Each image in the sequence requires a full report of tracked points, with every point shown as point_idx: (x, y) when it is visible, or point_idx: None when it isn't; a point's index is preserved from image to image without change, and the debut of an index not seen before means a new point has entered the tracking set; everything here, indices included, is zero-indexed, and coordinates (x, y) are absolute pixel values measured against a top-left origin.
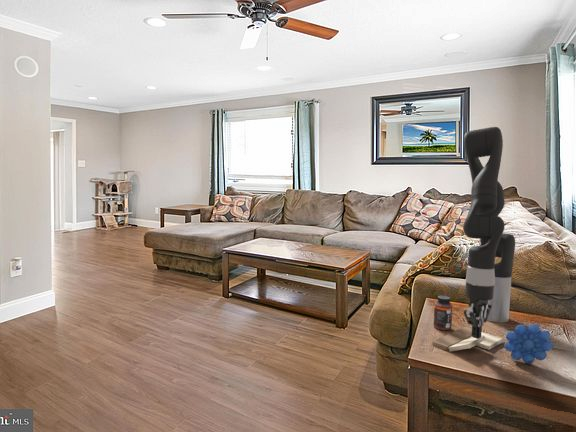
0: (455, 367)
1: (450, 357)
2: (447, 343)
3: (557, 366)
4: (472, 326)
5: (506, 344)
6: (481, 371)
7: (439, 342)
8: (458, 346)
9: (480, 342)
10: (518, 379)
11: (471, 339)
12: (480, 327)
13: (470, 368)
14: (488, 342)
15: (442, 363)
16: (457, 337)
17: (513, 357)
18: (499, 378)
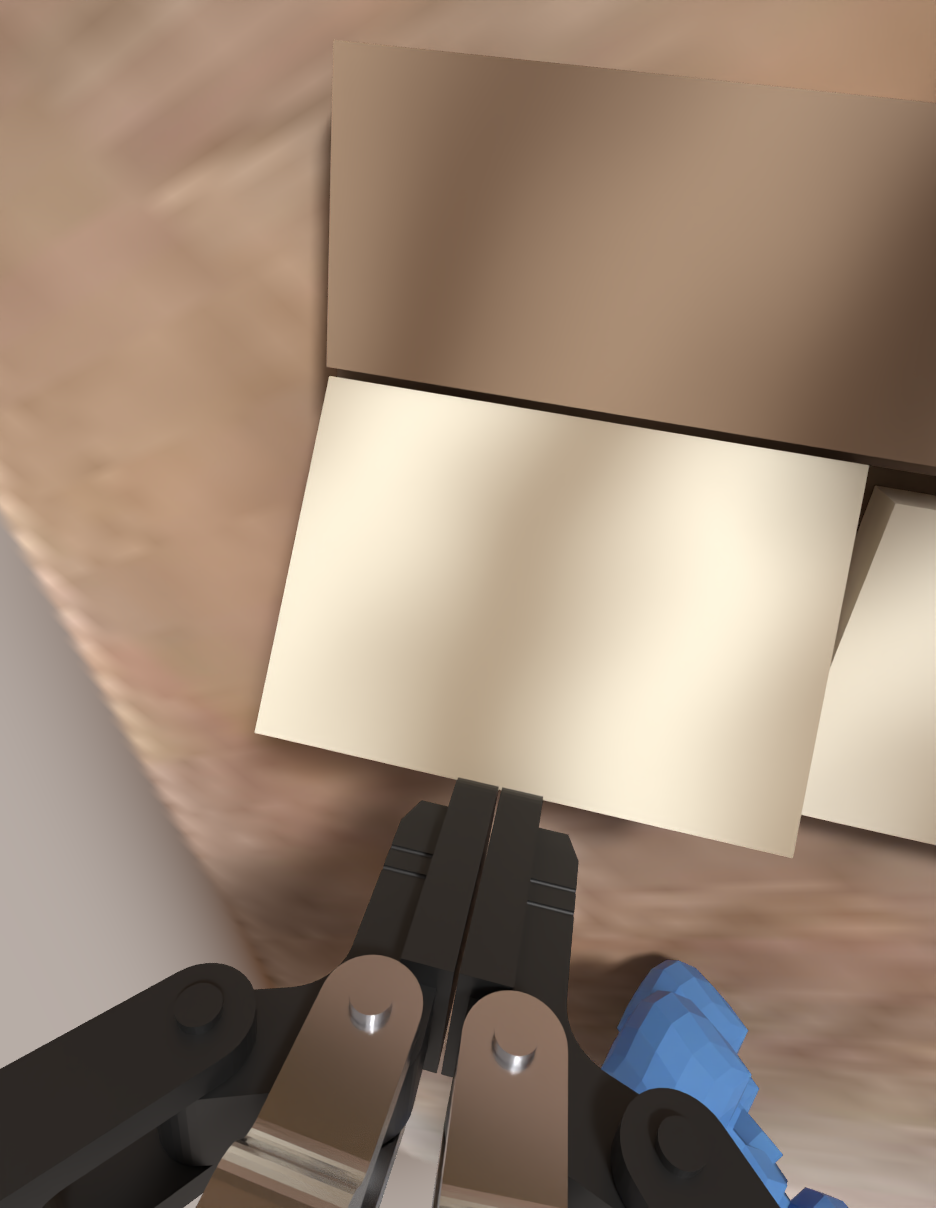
0: (60, 579)
1: (210, 463)
2: (455, 312)
3: (803, 1174)
4: (348, 954)
5: (641, 1068)
6: (206, 768)
7: (387, 178)
8: (296, 561)
9: (855, 701)
10: (326, 971)
11: (666, 663)
12: (427, 1059)
13: (171, 689)
14: (925, 785)
15: (5, 446)
16: (873, 347)
17: (638, 990)
18: (221, 879)
